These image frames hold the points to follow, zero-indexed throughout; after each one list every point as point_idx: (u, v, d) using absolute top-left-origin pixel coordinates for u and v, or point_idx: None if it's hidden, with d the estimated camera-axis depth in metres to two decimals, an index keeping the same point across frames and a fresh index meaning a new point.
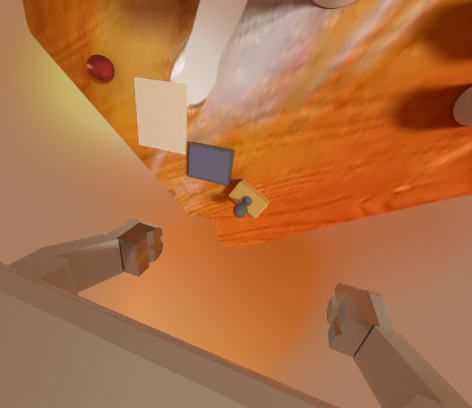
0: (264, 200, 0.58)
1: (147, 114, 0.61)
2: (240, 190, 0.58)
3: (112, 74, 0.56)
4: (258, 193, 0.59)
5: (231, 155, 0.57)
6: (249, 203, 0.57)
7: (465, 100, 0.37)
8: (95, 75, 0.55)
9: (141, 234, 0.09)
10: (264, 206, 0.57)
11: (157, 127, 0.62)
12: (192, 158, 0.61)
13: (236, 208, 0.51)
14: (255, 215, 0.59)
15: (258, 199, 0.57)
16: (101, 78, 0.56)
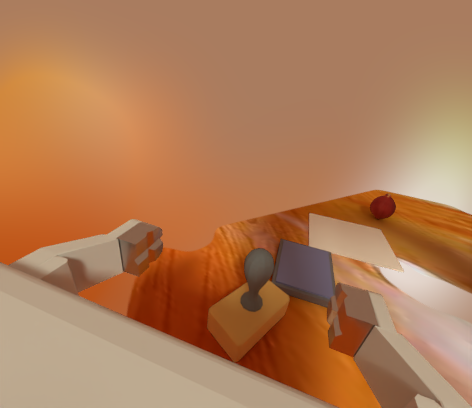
0: (248, 342, 0.24)
1: (346, 228, 0.54)
2: (272, 294, 0.29)
3: (379, 212, 0.58)
4: (261, 334, 0.26)
5: (328, 300, 0.32)
6: (249, 302, 0.27)
7: None
8: (378, 198, 0.59)
9: (141, 234, 0.09)
10: (237, 336, 0.23)
11: (334, 231, 0.52)
12: (309, 249, 0.42)
13: (271, 255, 0.25)
14: (216, 311, 0.26)
15: (255, 325, 0.25)
16: (376, 202, 0.59)
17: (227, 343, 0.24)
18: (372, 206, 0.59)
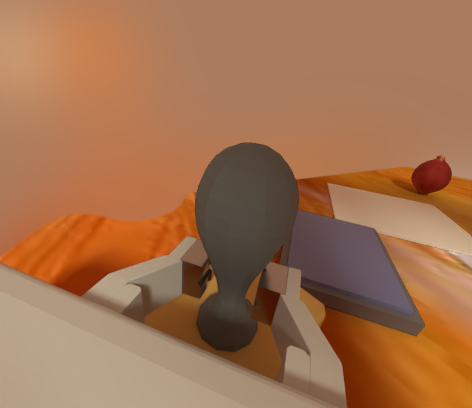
0: None
1: (385, 201, 0.37)
2: None
3: (428, 183, 0.41)
4: None
5: (402, 315, 0.15)
6: (218, 324, 0.09)
7: None
8: (426, 163, 0.41)
9: (203, 254, 0.09)
10: None
11: (369, 204, 0.35)
12: (339, 222, 0.25)
13: None
14: None
15: None
16: (423, 168, 0.41)
17: None
18: (416, 175, 0.42)
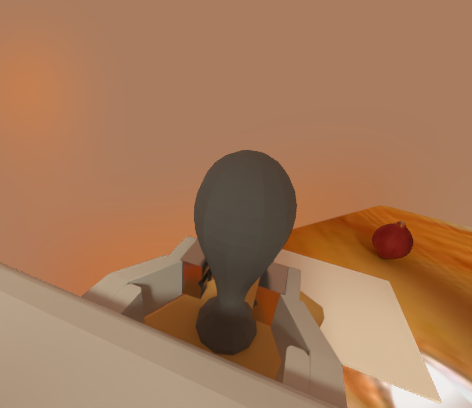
0: None
1: (332, 279, 0.33)
2: None
3: (387, 251, 0.37)
4: None
5: None
6: (217, 328, 0.09)
7: None
8: (386, 228, 0.37)
9: (203, 254, 0.09)
10: None
11: (311, 288, 0.31)
12: None
13: None
14: None
15: None
16: (382, 234, 0.37)
17: None
18: (376, 239, 0.38)
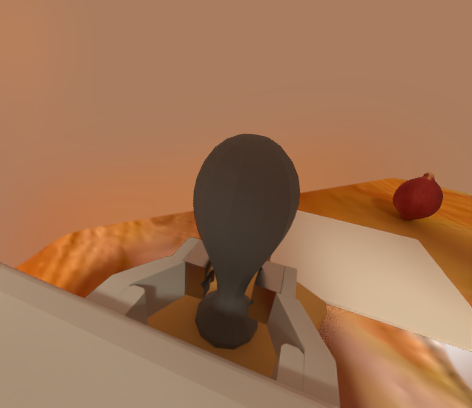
0: None
1: (352, 236, 0.27)
2: None
3: (413, 208, 0.31)
4: None
5: None
6: (217, 321, 0.09)
7: None
8: (410, 182, 0.32)
9: (206, 255, 0.09)
10: None
11: (328, 243, 0.25)
12: None
13: None
14: None
15: None
16: (406, 189, 0.32)
17: None
18: (398, 197, 0.33)
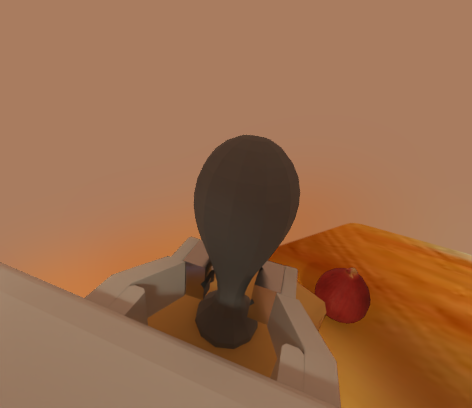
0: None
1: None
2: None
3: (331, 314, 0.24)
4: None
5: None
6: (217, 321, 0.09)
7: None
8: (331, 276, 0.25)
9: (206, 255, 0.09)
10: None
11: None
12: None
13: None
14: None
15: None
16: (324, 286, 0.24)
17: None
18: (317, 292, 0.25)
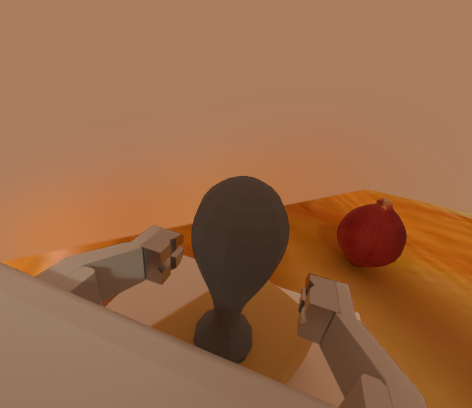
0: None
1: None
2: (278, 315, 0.12)
3: (360, 254, 0.20)
4: None
5: None
6: (214, 342, 0.10)
7: None
8: (358, 212, 0.21)
9: (164, 241, 0.09)
10: None
11: None
12: None
13: None
14: None
15: None
16: (350, 223, 0.21)
17: None
18: (341, 233, 0.21)
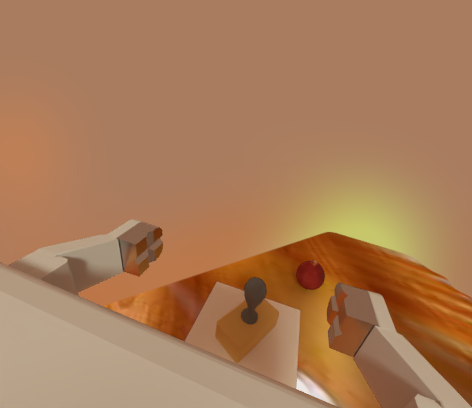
0: (246, 348, 0.32)
1: None
2: (265, 310, 0.37)
3: (304, 284, 0.45)
4: (256, 341, 0.35)
5: None
6: (247, 317, 0.35)
7: None
8: (304, 265, 0.46)
9: (141, 234, 0.09)
10: (239, 343, 0.32)
11: None
12: None
13: (264, 283, 0.33)
14: (222, 324, 0.34)
15: (252, 335, 0.33)
16: (300, 270, 0.46)
17: (231, 348, 0.33)
18: (297, 274, 0.47)
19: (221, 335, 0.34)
